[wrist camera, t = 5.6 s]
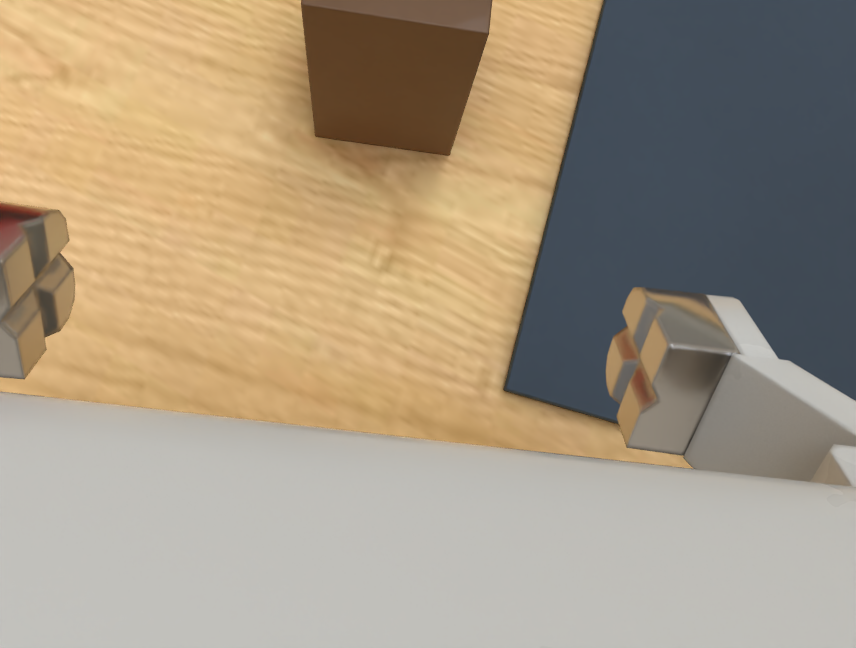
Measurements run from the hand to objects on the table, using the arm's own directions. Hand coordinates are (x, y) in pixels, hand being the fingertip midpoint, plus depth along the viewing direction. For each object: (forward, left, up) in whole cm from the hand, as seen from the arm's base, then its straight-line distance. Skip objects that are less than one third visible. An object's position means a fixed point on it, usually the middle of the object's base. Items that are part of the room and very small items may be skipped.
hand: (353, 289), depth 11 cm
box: (-6, -10, -15) cm, 19 cm away
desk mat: (-17, 0, -15) cm, 22 cm away
